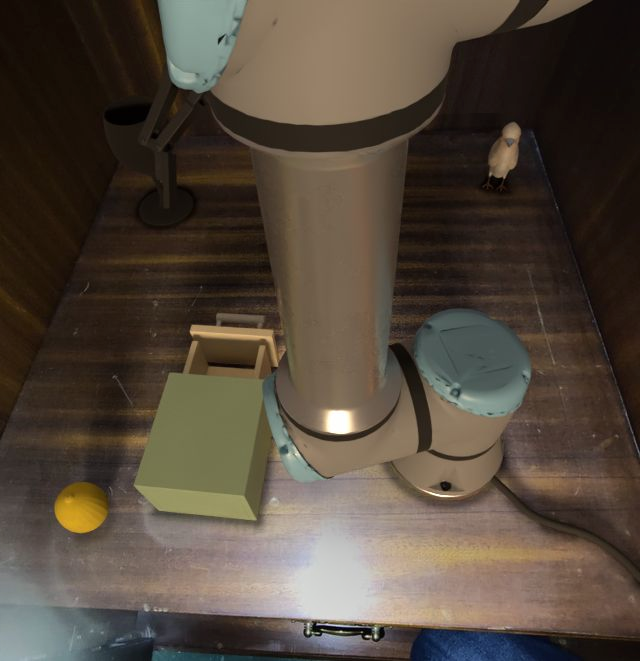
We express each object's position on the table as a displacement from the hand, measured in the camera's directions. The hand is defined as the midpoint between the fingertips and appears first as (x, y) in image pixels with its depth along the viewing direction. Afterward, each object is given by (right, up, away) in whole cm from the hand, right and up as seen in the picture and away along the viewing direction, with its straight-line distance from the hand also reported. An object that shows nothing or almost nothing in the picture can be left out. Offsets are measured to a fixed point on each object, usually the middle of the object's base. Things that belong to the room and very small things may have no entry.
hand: (224, 210), depth 64 cm
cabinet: (-1, -32, +5) cm, 32 cm away
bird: (+45, +12, +34) cm, 57 cm away
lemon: (-16, -38, +1) cm, 42 cm away
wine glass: (-17, +9, +34) cm, 40 cm away
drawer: (0, -23, +10) cm, 25 cm away
